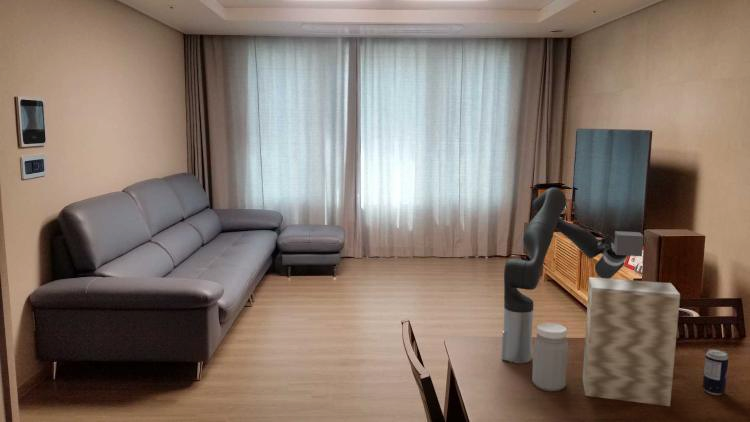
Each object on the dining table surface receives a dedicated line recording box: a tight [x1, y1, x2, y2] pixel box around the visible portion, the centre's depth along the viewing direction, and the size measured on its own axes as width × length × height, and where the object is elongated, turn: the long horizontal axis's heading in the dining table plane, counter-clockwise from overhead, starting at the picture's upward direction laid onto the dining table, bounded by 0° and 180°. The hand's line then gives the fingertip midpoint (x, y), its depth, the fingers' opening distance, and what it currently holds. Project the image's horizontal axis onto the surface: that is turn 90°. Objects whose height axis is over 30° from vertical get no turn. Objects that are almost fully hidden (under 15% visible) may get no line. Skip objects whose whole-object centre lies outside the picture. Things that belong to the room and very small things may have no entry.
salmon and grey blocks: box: [614, 230, 644, 257], centre depth 177 cm, size 20×7×6 cm, turn 164°
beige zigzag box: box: [582, 276, 681, 407], centre depth 163 cm, size 22×11×32 cm, turn 74°
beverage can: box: [701, 348, 729, 396], centre depth 165 cm, size 6×6×12 cm
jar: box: [531, 322, 569, 392], centre depth 168 cm, size 10×10×18 cm
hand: (623, 236), depth 181 cm, fingers closed on salmon and grey blocks, 3 cm apart
